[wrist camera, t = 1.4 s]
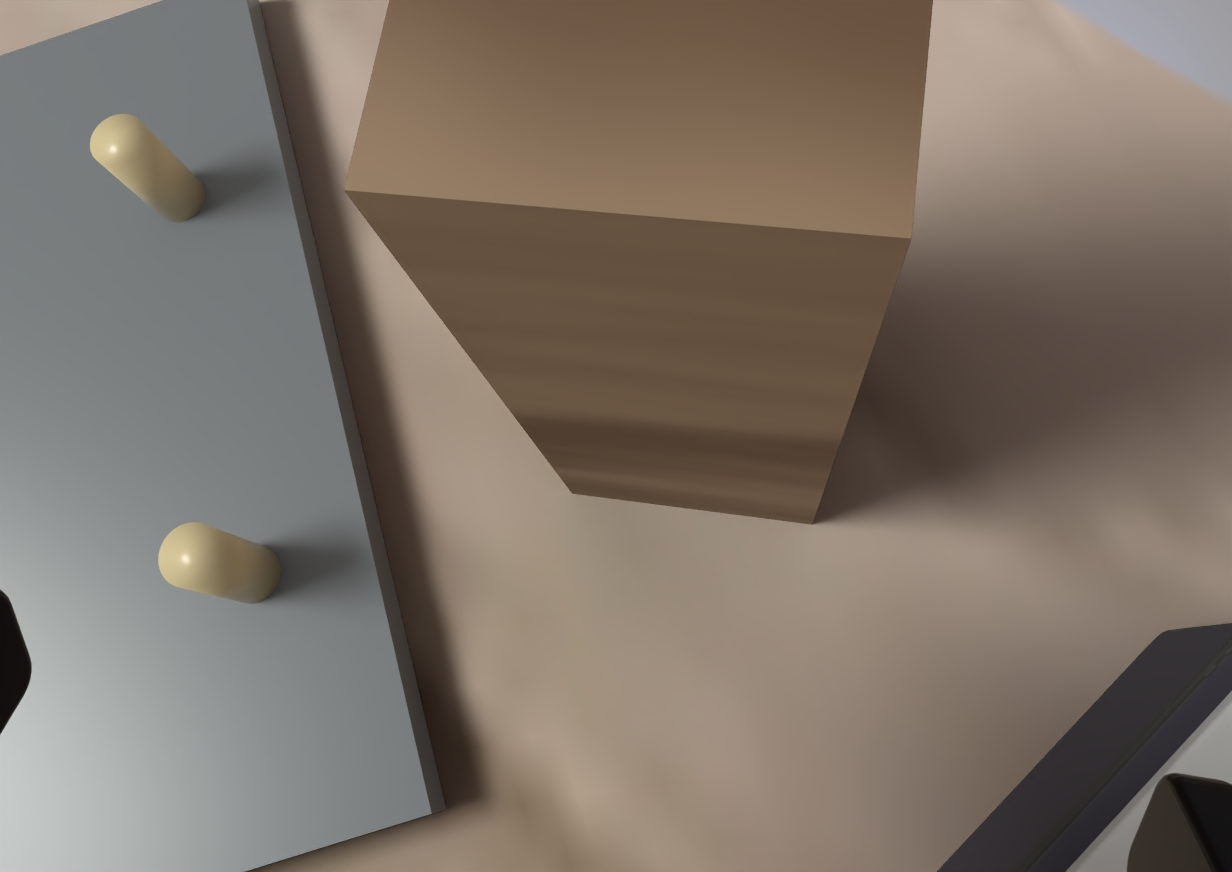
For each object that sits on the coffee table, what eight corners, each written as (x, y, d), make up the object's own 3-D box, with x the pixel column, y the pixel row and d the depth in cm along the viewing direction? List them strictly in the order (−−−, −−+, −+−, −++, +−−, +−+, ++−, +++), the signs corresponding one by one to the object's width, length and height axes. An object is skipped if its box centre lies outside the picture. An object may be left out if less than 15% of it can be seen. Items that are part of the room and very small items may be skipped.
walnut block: (812, 524, 21) (911, 238, 9) (572, 493, 22) (343, 190, 9) (836, 296, 22) (954, -243, 10) (608, 274, 23) (450, -251, 11)
